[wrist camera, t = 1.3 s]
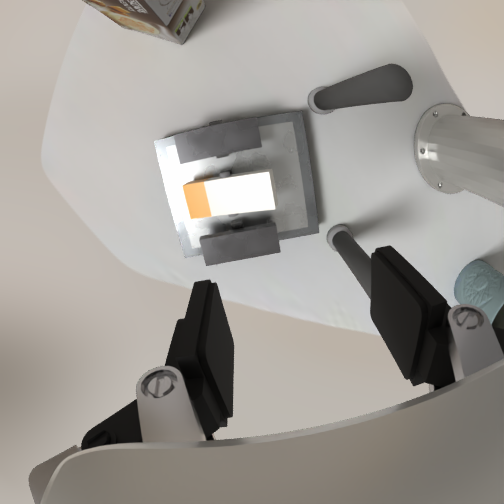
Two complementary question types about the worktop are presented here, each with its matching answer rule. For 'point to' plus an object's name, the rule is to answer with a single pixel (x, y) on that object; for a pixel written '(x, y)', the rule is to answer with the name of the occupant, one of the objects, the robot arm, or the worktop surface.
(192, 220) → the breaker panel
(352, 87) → the dark grey post
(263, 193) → the block
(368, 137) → the worktop surface
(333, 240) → the dark grey rod
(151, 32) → the coffee box
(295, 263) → the worktop surface
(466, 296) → the teal green cup
